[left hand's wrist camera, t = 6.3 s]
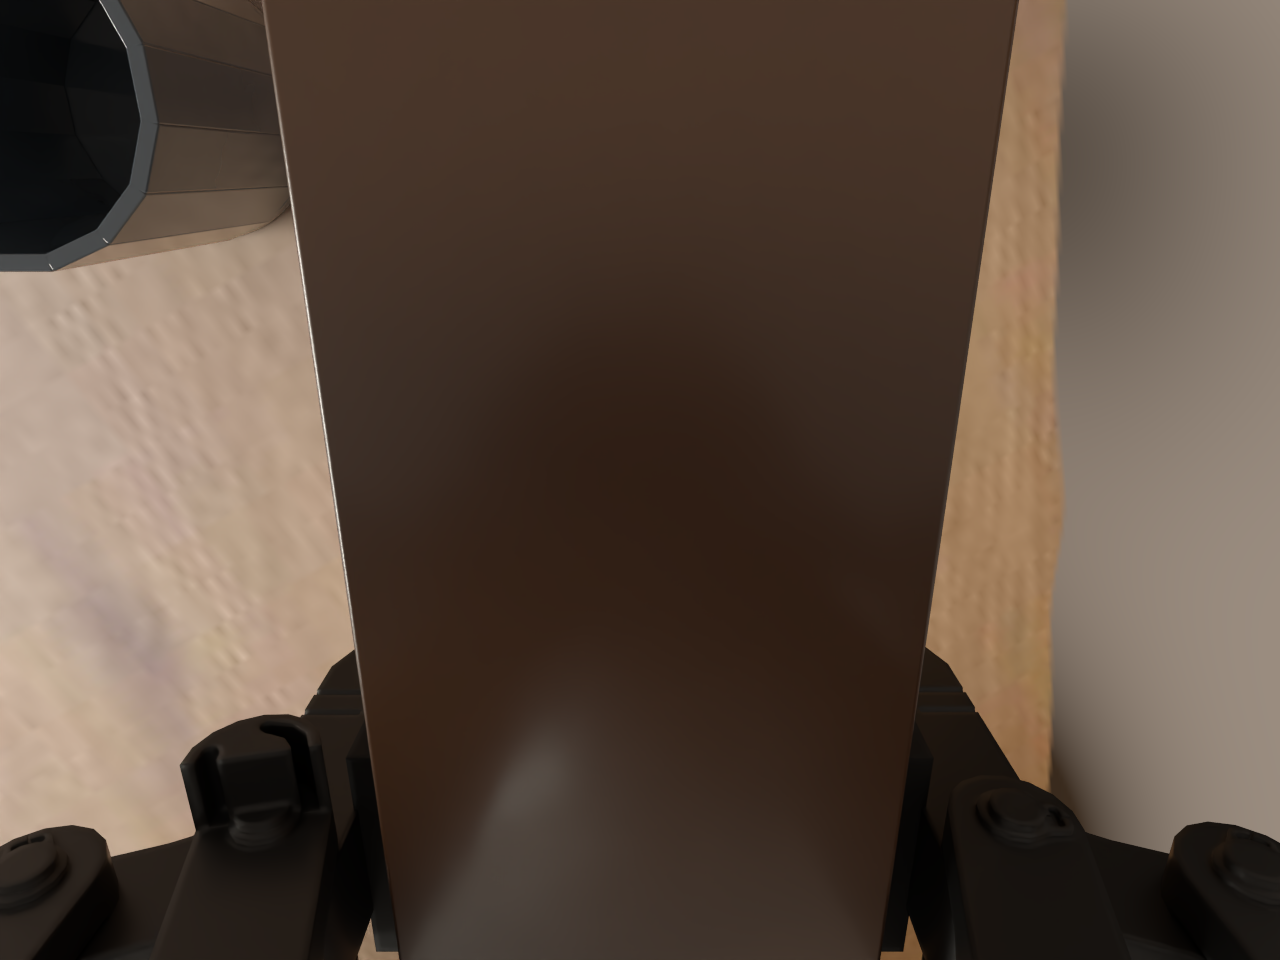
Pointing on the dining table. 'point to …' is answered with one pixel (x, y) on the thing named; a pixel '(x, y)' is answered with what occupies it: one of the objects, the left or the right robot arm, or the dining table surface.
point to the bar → (639, 444)
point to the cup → (133, 129)
